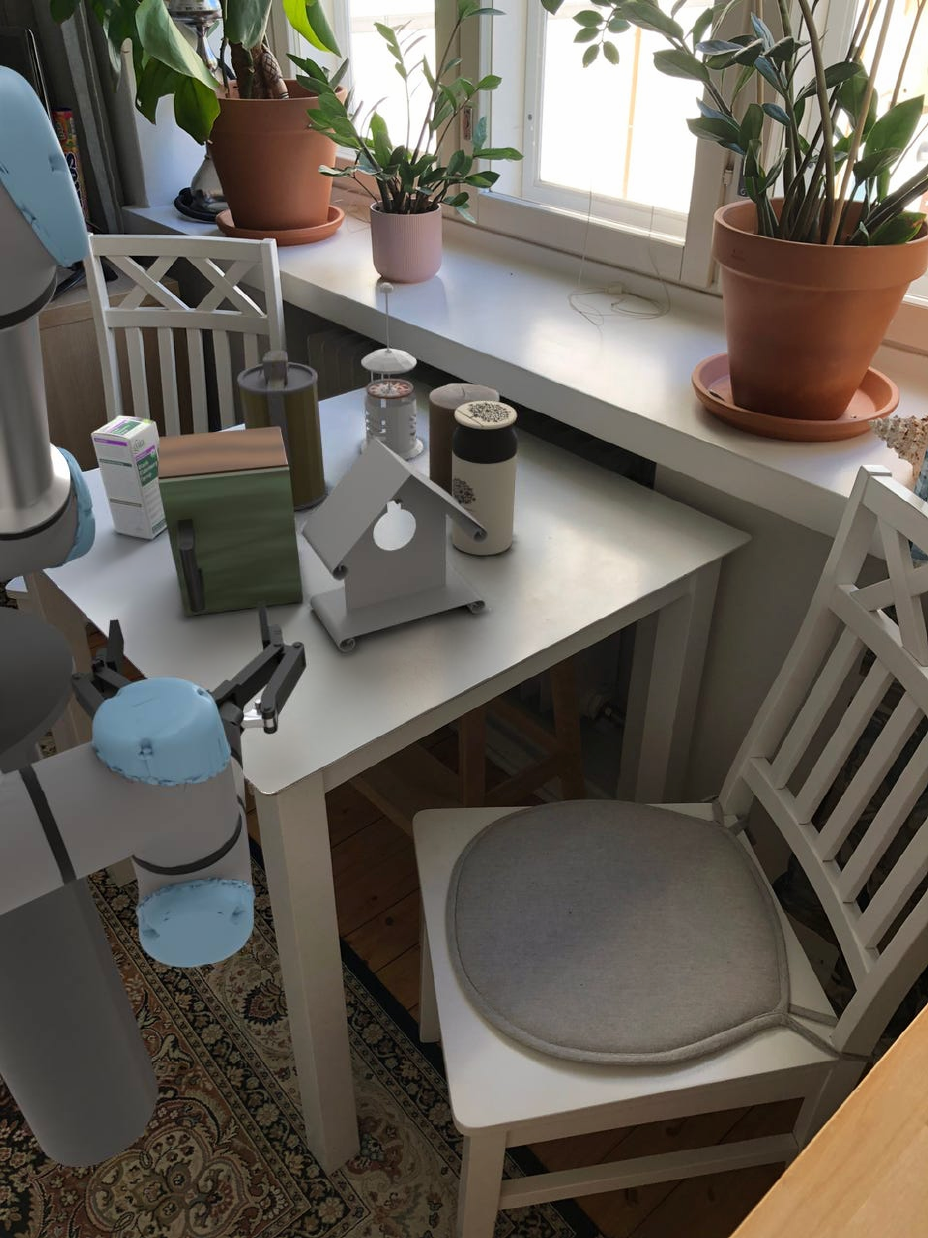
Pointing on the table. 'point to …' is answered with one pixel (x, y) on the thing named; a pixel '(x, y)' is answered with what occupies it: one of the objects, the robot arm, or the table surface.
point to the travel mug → (485, 473)
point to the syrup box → (131, 475)
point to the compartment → (221, 452)
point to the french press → (391, 399)
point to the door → (233, 539)
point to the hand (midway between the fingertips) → (190, 621)
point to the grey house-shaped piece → (386, 578)
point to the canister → (288, 419)
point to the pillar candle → (449, 426)
